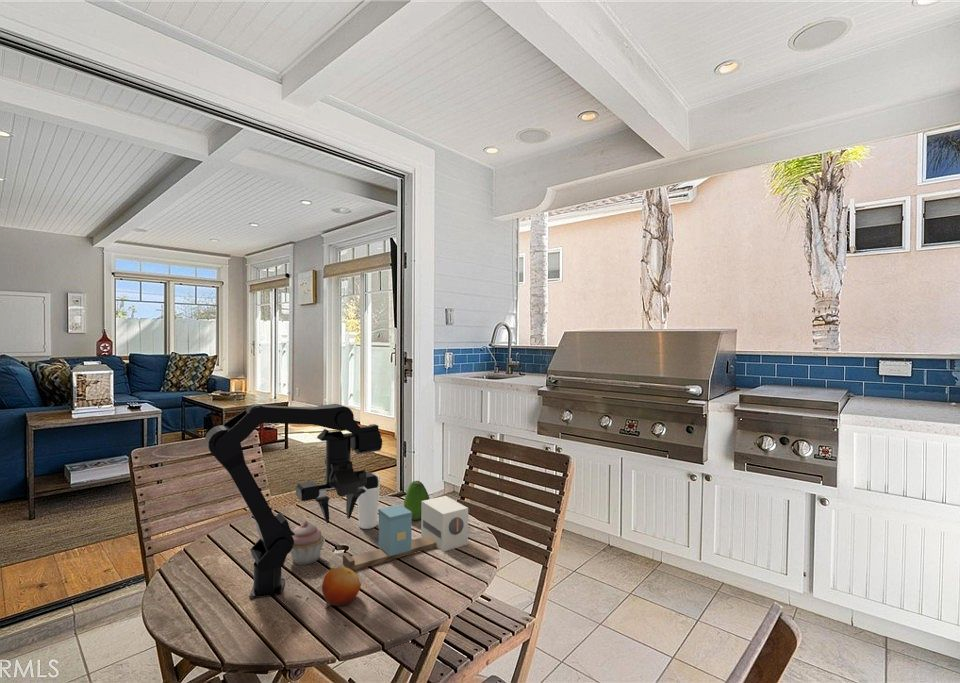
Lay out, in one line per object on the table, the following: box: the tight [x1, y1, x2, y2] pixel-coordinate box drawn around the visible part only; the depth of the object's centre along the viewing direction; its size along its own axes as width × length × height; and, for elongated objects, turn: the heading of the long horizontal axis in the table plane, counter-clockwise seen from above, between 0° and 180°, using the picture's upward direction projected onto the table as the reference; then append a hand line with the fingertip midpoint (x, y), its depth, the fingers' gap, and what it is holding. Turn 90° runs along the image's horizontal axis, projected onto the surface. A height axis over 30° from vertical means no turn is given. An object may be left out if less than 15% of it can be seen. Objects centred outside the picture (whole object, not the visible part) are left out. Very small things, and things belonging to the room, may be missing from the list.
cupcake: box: [289, 520, 326, 566], centre depth 121 cm, size 9×9×10 cm
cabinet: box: [420, 495, 469, 553], centre depth 133 cm, size 8×13×10 cm, turn 35°
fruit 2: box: [403, 480, 431, 521], centre depth 149 cm, size 8×8×12 cm
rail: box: [342, 536, 437, 571], centre depth 124 cm, size 24×5×2 cm, turn 125°
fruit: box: [321, 566, 362, 610], centre depth 102 cm, size 8×8×8 cm
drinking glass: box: [356, 472, 381, 530], centre depth 143 cm, size 7×7×15 cm
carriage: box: [377, 503, 412, 556], centre depth 125 cm, size 6×7×10 cm
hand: (338, 520), depth 116 cm, fingers open, 5 cm apart
